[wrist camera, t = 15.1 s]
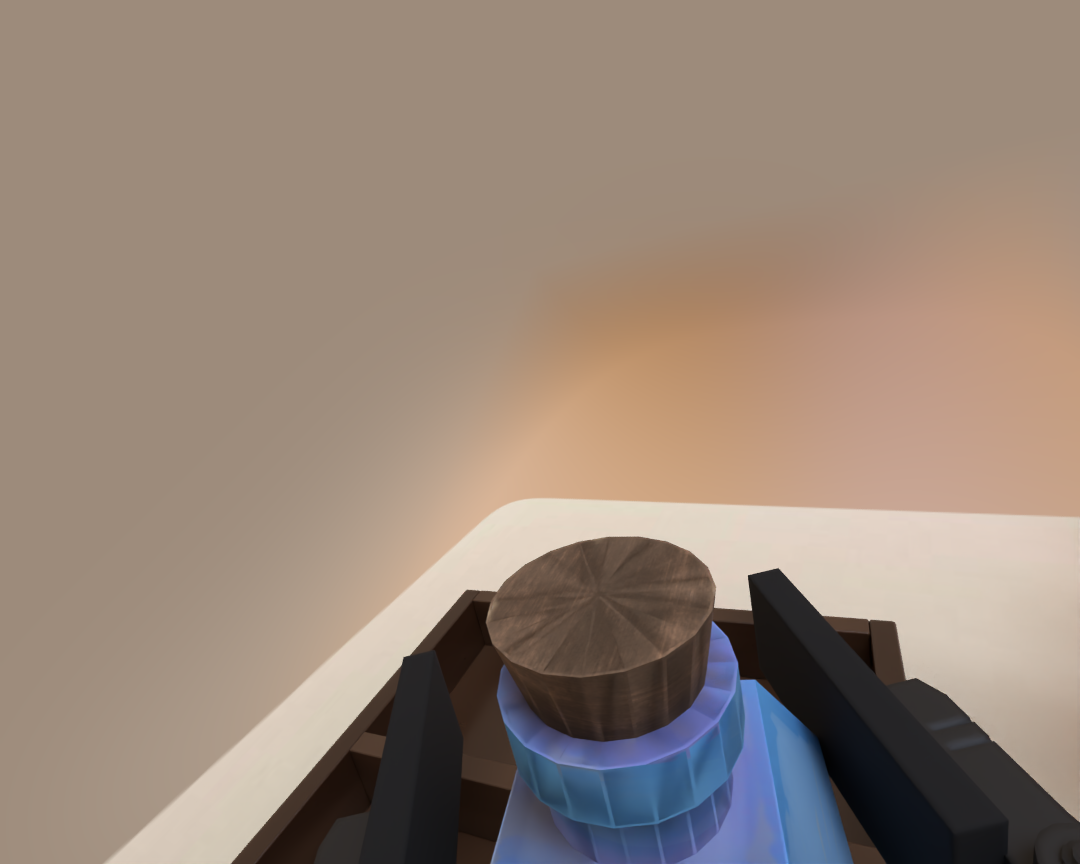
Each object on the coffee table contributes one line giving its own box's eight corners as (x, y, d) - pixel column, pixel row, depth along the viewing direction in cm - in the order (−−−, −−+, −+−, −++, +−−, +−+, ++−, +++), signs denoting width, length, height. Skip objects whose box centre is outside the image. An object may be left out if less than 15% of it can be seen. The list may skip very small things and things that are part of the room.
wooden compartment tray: (126, 1128, 14) (68, 1050, 13) (481, 641, 29) (466, 589, 28) (1092, 1926, 6) (1117, 1870, 5) (898, 691, 21) (895, 620, 20)
